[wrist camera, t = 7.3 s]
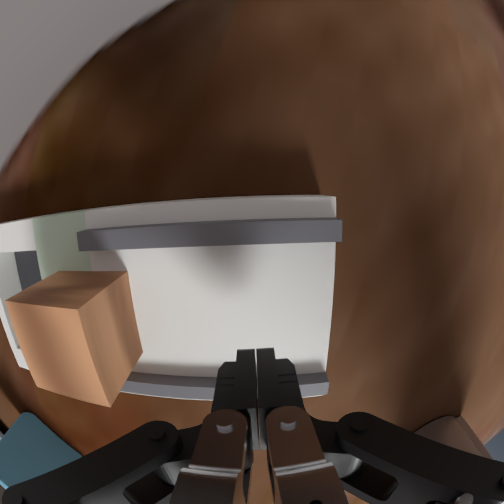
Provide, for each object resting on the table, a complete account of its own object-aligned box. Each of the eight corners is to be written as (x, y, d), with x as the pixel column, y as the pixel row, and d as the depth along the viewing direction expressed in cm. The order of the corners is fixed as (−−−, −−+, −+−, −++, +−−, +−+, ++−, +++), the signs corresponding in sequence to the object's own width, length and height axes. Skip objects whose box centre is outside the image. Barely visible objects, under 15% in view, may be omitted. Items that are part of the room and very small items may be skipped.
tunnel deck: (320, 194, 16) (342, 197, 12) (313, 368, 18) (325, 405, 14) (5, 222, 16) (-28, 230, 12) (36, 350, 19) (13, 372, 15)
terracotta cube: (127, 271, 14) (77, 309, 9) (143, 352, 15) (110, 407, 10) (59, 270, 14) (4, 300, 9) (77, 343, 15) (37, 386, 10)
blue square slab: (21, 414, 22) (-19, 466, 10) (27, 406, 21) (-18, 464, 9) (86, 470, 24) (60, 528, 12) (98, 467, 23) (70, 531, 11)
